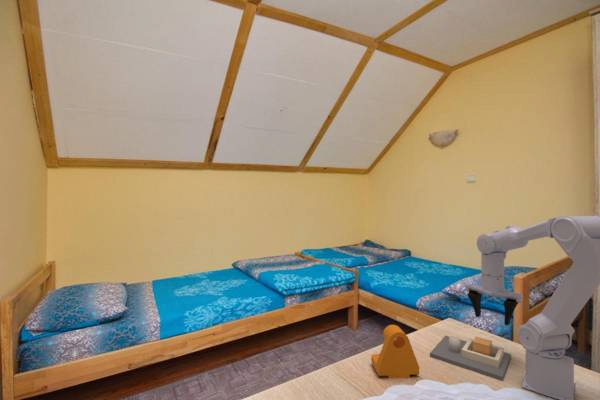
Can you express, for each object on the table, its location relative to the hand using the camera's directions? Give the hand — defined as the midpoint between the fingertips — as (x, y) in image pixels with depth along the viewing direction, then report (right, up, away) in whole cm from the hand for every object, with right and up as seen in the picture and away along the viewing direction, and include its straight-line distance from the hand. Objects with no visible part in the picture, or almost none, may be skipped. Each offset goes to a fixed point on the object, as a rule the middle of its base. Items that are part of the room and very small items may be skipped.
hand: (492, 320), depth 91 cm
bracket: (-32, -11, -8) cm, 34 cm away
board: (-7, -10, -1) cm, 13 cm away
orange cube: (-5, -9, -3) cm, 11 cm away
